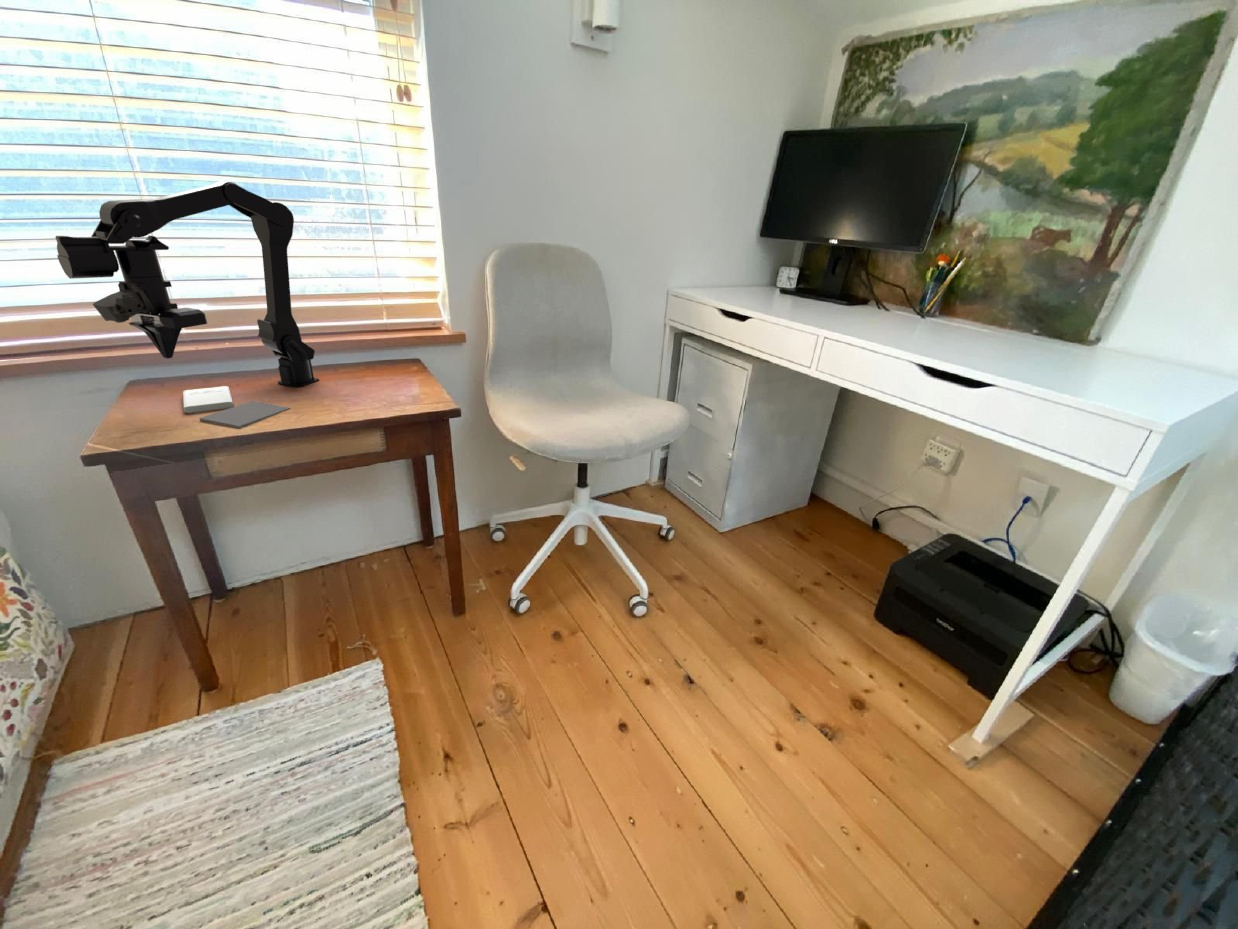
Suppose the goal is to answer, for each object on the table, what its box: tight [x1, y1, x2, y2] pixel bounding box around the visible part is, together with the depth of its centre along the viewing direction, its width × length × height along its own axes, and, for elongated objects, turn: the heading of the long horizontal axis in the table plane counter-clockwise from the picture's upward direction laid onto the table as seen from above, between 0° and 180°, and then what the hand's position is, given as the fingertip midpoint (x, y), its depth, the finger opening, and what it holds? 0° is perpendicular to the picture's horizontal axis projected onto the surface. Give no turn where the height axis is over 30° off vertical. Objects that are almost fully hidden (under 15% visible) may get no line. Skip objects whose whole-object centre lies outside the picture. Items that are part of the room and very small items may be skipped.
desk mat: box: [199, 400, 291, 430], centre depth 109 cm, size 12×10×1 cm
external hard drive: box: [182, 385, 235, 415], centre depth 114 cm, size 2×8×12 cm
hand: (168, 357), depth 106 cm, fingers closed
